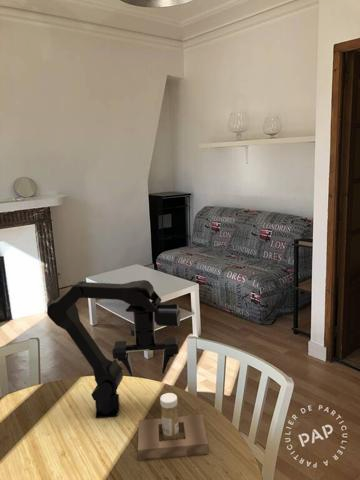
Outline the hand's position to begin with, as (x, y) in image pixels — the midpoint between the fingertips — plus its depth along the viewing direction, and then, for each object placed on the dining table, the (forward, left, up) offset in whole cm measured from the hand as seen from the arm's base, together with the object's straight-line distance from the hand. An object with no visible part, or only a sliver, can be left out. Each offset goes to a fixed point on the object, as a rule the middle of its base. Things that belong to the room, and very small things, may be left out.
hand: (147, 374), depth 123 cm
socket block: (+6, -13, -13) cm, 19 cm away
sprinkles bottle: (+6, -13, -13) cm, 19 cm away
